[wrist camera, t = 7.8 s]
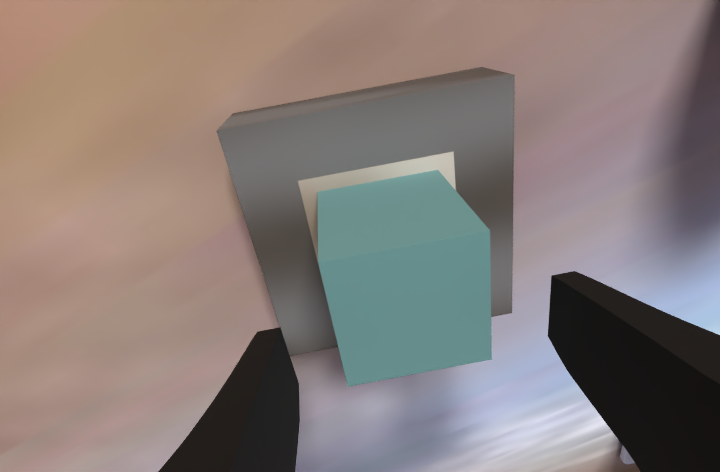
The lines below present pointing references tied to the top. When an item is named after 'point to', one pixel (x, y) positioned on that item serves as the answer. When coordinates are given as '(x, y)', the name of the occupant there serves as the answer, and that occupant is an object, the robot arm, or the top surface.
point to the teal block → (404, 276)
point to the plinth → (368, 175)
